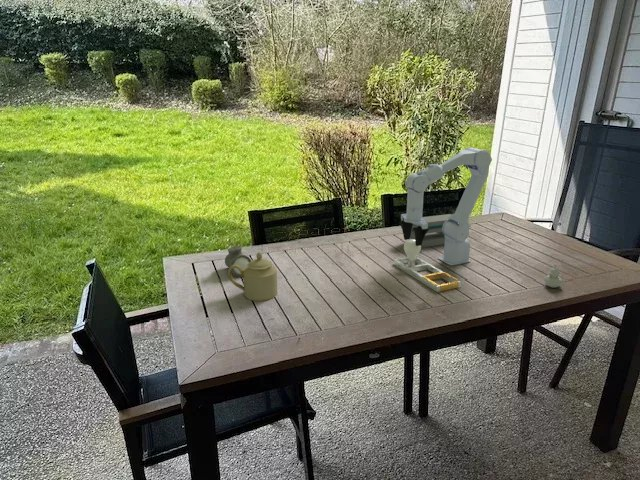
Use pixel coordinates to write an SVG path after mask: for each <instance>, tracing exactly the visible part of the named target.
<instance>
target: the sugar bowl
mask: <svg viewBox="0 0 640 480" xmlns="http://www.w3.org/2000/svg"><path fill="white" fill-rule="evenodd" d="M255 257H256V258H254V259H253V260H251V262H249V263H248V264H247V267H248V268H246V269H245V270H244V271H243V269H242V268H241V266H239V265H236V264H235V265H232V266H231V267H230V268H229V267H228V271H227V274H228V279H229V280H230V282H231V283H232V285H234V286H235V287H237V288H238V289H240V290H242V291H243V292H244V297H245V298H246V299H248V300H250V301H253V302H265V301H269V300H272V299H274V298H275V297H276V296H278V273H277V268H276V267H275V266H273V262H272V261H270V260H269V259H266V258H263V254H262V253H261V252H257V253H256V256H255ZM233 268H237V269H239V271H240V273H241V276H242V277H241V278H242V279H243V285H242V284H240V283H238V282H237V281H236V280H235V279H234V277H233V276H232V272H231V270H232V269H233Z"/></svg>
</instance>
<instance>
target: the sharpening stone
mask: <svg viewBox="0 0 640 480" xmlns="http://www.w3.org/2000/svg"><path fill="white" fill-rule="evenodd" d="M452 214H453V213H448V214H441V215H440V214H439V215H438V214H436V215H429V216H422V219H423V220H424V221H425V222H426V223H428V228H429V230H428V231H427V233H426V234H425V236H424V239H423V242H422V245H421V248H426V247H433V246H440V245H441V246H442V245H444V244H445V237H444V236H445V234H444V233H443V232H442V226H443V224H444V223H445V222H446V221H447V220H448V218H449V216H451V215H452ZM400 221H402V219H400ZM415 227H418V226H417V225H415V224H413V226H412V229H411V236H410V239H415V233H414V230H413V228H415ZM410 239H409V240H410Z"/></svg>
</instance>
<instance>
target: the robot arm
mask: <svg viewBox="0 0 640 480" xmlns="http://www.w3.org/2000/svg"><path fill="white" fill-rule="evenodd" d="M492 160H493V158H492V156H491V154H490V152H489V150H487V149H480V148H475V147H472V146H468V147H465V148H464V149H461V150H460V151H459V152H458V153H456V154H454V155H453V156H452V157H450V158H449V159H447V160H445V161H443V162H441V163H440V164H438V163H430V164H429V165H428V167H426V168H424V169H422V170H418V171H417V173H411V174H409V175H408V176H407V178H406V180H405V181H404V186H405V187H406V189H407V198H406V199H407V200H406V213H402V214H400V221H399V222H398V224H399V225H400V228H401V230H402V235H403V239H404V240H406V241H408V240H410V236H411V229H412V226H413V224H415V225H417V226H418V227H415V228H413V230H414V233H415V244H416V246H420V245H422V242H423V239H424V236H425V234H426V233H427V231H428V230H429V228H428V223H426V222H425V221H424V220H423V219H422V217H423V211H424V210H423V209H424V194H425V191H426V189H427V188H428V186H429V185H431V184H433V183H435V182H436V181H438V180H441V179H442V178H443V177H444V173H447V172H449V171H451V170H453V169H456V168H459V167H460V166H462V165H465V166H466V167H467V168H468V170H469V172H470V174H471V176H470V177H469V180H468V183H467V184H466V186H465V189H464V191H463V194H462V196H461V198H460V200H459V203H458V205H457V207H456V209H455V211H454V213H451V214H452V215H451V216H449V218H448V220H447V221H446V222H445V223H444V224H443V226H442V232H443V233H444V234H445V236H444V237H445V244H443V247H444V248H443V256H441V257H440V256H439V257H438V260H440V261H442V262H444V263H445V264H447V265H449V266H456V265H461V264H466V263H470V262H471V260H470V252H471V243H470V241H469V240H468V238H469V236H470V228H471V226H472V225H471V222H470V220H469V219H470V216H471V214H472V212H473V210H474V207H475V206H476V203H477V200H478V199H479V197H480V194H481V192H482V190H483V187H484V185H485V183H486V182H487V179H488V177H489V172H490V171H489V170H490V166H491V164H492ZM401 220H402V221H401Z"/></svg>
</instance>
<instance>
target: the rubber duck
mask: <svg viewBox="0 0 640 480" xmlns="http://www.w3.org/2000/svg"><path fill="white" fill-rule="evenodd" d="M560 273H561V271H560V269H559V268H558V267H557V266H556V265H554V266H552V267H551V268H550V270H549V272H548V275H546V276H545V277H544V282H545V285H546V286H548V287H549V288H553V289H554V288H559V287H561V286H562V285H563V282H564V281H563V279H562V274H560Z"/></svg>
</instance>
